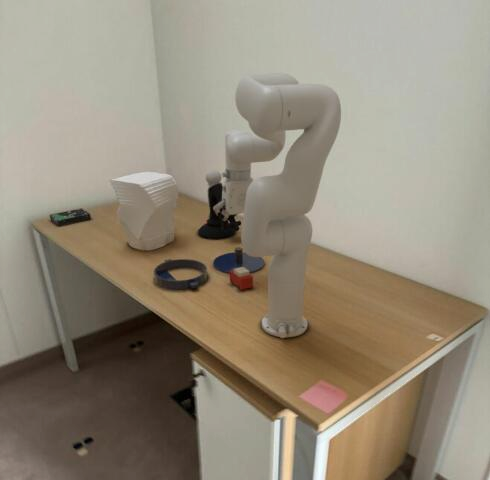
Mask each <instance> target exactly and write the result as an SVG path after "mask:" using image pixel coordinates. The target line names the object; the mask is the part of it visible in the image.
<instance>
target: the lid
mask: <svg viewBox="0 0 490 480" xmlns="http://www.w3.org/2000/svg"><path fill="white" fill-rule="evenodd" d="M265 264H266V263H265V259H264V258H263V257H251V256H249V255H247V254H246V253H245V251H244V249H243V247H242V246H236V247H234V252H228V253H223V254H220V255H218V256H217V257H215V258H214V259H213V261H212V265H213V267H214V269H215V270H217V272H218V271H219V272H221V273H224V274H228V275H230V270H234V269H236V268H240V267H244V268H246V269H247V270H248V271H249V274H253V273H257V272H258V271H260V270H263V268H264V267H265Z"/></svg>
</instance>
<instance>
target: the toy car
mask: <svg viewBox="0 0 490 480" xmlns="http://www.w3.org/2000/svg"><path fill="white" fill-rule="evenodd" d="M229 282H230V284H231V285H232V286H233V285H234V286H235V287H237V289H238V290H239V291H243V290H246V289H252V288H253V287H254V277H253V275H252V274H251V273H249V271H248V270H247V269H246V268H244V267H240V268H236V269H234V270H230V274H229Z"/></svg>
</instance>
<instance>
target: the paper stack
mask: <svg viewBox="0 0 490 480" xmlns="http://www.w3.org/2000/svg"><path fill="white" fill-rule="evenodd" d="M109 182H110V185H111V186H112V189H113V190H114V192H115V194H116V198H117V201H118V204H119V206H118V208H117V211H116V214H115V215H116V218H117V219H119V221H120V224H121V227H122V229H123V231H124V234H125V237H126V240H127V243H128V245H129V246H130V247H131V248H133V249H136V250H139V251H149V252H150V251H153V250H155V249H159V248H163V247H165V246H166V245H167V244H170V243H172V242H173V241H174V240H175V225H174V224H175V213H176V210H177V206H178V201H179V191H178V183H177V182H176V180H175V179H174V177H173V176H172V175H171V174H168V173H161V172H157V171H142V172H137V173H131V174H127V175H123V176H120V177H116V178H113V179H110V180H109Z"/></svg>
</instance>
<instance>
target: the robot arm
mask: <svg viewBox="0 0 490 480" xmlns="http://www.w3.org/2000/svg"><path fill="white" fill-rule="evenodd" d="M234 96H235V97H234V100H235V106H236V110H237V111H238V113H239V114H240V116H241V117H242V118H243V119H244V120H245V121H247V123H248V126H249V129H250V130H251V132H252V133H251V132H250V131H249V130H247V129H240V128H239V129H237V128H235V129H230V130H227V131H226V132H225V135H224V140H225V142H224V149H225V169H224V172H222V173H221V177H222V178H224V180H223V183H222V186H223V191H222V201H220V202H219V203H218V204H216V205H215V206H214V207H213V210H214V211H215V213H216V215H217V216H218V217H219V218H220V219H221V228H222V230H223V231H224V232H226V233H228V232H229V223H230V222H229V221H228V220H227V219H228V217H229V216H230V215H235V214H237V215H240V214H243V216H242V221H241V233H240V240H241V248H243V252H245V253H246V254H247V255H249V256H251V257H262V258H263V257H268V256H272V257H271V260H270V261H269V264H268V273H267V274H268V277H267V279H268V280H267V314H266V315H265V316H264V317H263V318H262V320H261V329H263V331H264V332H266V333H267V334H268V335H271V336H274V337H279V338H280V339H284V338H294V337H298V336H301V335H302V334H304V333H305V332H306V331H307V330H308V320H307V319H306V317H305V316H303V312H304V299H305V298H304V297H305V285H306V271H307V270H306V269H307V260H308V254H309V249H310V246H311V242H312V238H313V224H312V222H311V220H310V218H309V217H308V216H307V215H306V214H308V213H309V212H311V210H312V209H313V207H314V204H315V202H316V199H317V194H318V191H319V188H320V183H321V180H322V176H323V172H324V168H325V165H326V161H327V159H328V157H329V154H330V152H331V150H332V148H333V146H334V144H335V142H336V139H337V136H338V133H339V130H340V127H341V120H342V107H341V100H340V97H339V95H338V93H337V92H336V90H335V89H334V88H332V87H330V86H328V85H325V84H320V83H299V81H298V80H297V79H296V78H295V77H294V76H293V75H291V74H288V73H283V72H273V73H272V72H271V73H268V72H267V73H250V74H246V75H244V76H243V77H242V78H240V80H239V82H238V83H237V86H236V89H235V95H234ZM298 130H303V132H302V134H300V135H299V136H298V137H297V138H296V140H295V141H294V142H293V143H292V145H291V146H290V147H289V149H288V151H287V153H286V155H285V159H284V165H283V167H282V168H283V169H282V171H281V172H280V173H278V174H275V175H266V176H260V177H257V178H255V179H254V178H253V177H252V164H254V163H266V162H267V163H268V162H271V161H273V160H275V159H276V158H278V157H279V155H280V154H281V153H282V151H283V150H284V148H285V145H286V138H287V136H286V134H287V132H286V131H298ZM220 208H222V209H223V211H222V213H220Z"/></svg>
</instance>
